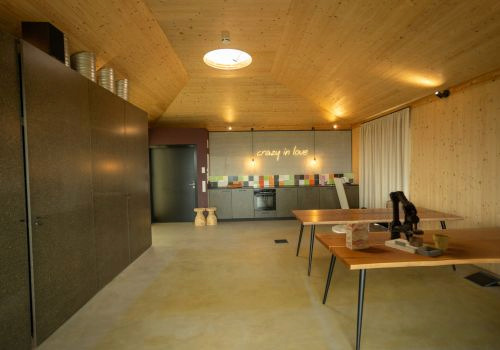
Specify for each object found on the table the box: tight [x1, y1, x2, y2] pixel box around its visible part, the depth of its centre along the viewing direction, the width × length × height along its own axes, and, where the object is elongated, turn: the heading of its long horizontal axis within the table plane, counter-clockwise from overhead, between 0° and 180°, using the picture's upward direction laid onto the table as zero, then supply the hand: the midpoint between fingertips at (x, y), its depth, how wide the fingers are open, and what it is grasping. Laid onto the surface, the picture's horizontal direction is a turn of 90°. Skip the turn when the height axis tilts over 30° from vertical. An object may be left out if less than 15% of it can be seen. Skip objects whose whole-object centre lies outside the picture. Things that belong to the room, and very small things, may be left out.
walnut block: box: [409, 235, 424, 248], centre depth 187 cm, size 6×6×6 cm
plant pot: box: [432, 233, 452, 251], centre depth 189 cm, size 10×10×10 cm
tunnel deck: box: [384, 238, 443, 258], centre depth 189 cm, size 32×18×6 cm, turn 27°
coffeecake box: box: [345, 220, 370, 251], centre depth 194 cm, size 15×7×20 cm, turn 105°
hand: (408, 241), depth 192 cm, fingers closed
